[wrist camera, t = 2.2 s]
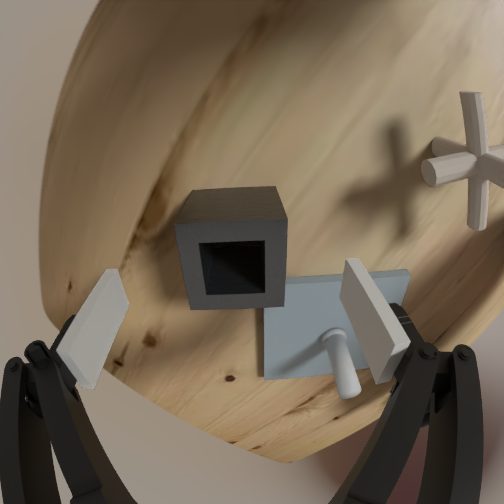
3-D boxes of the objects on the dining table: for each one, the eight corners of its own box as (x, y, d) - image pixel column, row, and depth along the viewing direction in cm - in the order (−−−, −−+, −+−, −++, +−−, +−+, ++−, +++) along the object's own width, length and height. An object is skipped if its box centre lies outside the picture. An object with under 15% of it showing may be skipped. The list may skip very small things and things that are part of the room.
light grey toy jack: (398, 213, 21) (470, 281, 12) (379, 94, 16) (475, 100, 7) (476, 189, 19) (547, 237, 11) (467, 88, 15) (554, 104, 6)
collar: (192, 190, 19) (173, 224, 14) (275, 186, 19) (287, 218, 14) (201, 260, 22) (190, 309, 17) (275, 257, 22) (284, 306, 17)
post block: (263, 278, 23) (270, 351, 17) (406, 269, 24) (447, 325, 17) (263, 373, 30) (267, 432, 24) (373, 360, 31) (392, 412, 24)
